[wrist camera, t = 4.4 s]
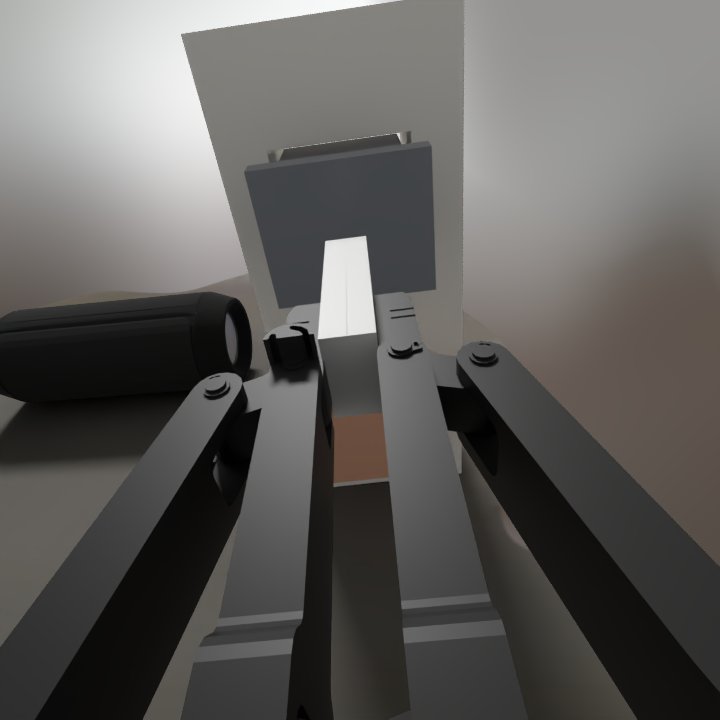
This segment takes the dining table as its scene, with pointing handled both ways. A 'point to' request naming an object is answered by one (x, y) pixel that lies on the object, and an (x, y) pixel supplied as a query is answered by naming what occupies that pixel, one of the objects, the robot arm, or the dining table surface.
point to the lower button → (359, 448)
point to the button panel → (343, 122)
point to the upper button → (346, 213)
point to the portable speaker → (122, 347)
